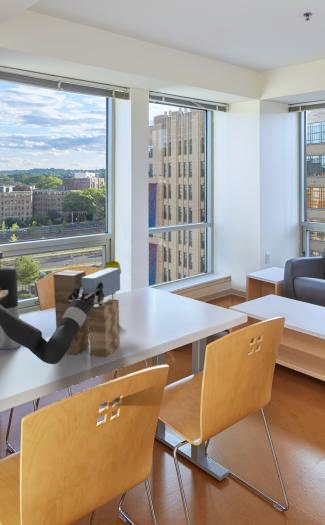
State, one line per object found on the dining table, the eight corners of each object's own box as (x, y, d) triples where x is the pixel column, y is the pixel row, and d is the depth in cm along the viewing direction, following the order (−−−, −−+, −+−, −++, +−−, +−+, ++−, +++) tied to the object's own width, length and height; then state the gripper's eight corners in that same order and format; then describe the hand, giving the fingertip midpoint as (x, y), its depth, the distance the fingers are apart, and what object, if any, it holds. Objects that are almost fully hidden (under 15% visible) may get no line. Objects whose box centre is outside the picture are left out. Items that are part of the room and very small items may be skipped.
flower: (107, 320, 230) (105, 260, 225) (123, 320, 229) (121, 260, 224) (103, 326, 221) (101, 263, 216) (120, 326, 221) (118, 263, 215)
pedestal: (77, 355, 185) (73, 275, 180) (57, 352, 189) (53, 274, 183) (88, 347, 194) (85, 271, 188) (70, 344, 197) (66, 269, 191)
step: (106, 357, 182) (104, 307, 179) (90, 355, 185) (88, 306, 181) (119, 347, 193) (118, 299, 190) (104, 345, 196) (102, 298, 192)
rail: (94, 302, 174) (93, 278, 173) (82, 301, 176) (81, 277, 174) (120, 289, 194) (119, 268, 193) (109, 288, 196) (108, 267, 195)
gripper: (61, 320, 171) (81, 289, 184) (96, 324, 167) (114, 292, 179) (55, 305, 167) (75, 274, 179) (91, 309, 162) (109, 277, 174)
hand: (95, 283), depth 179 cm, fingers closed on rail, 5 cm apart
